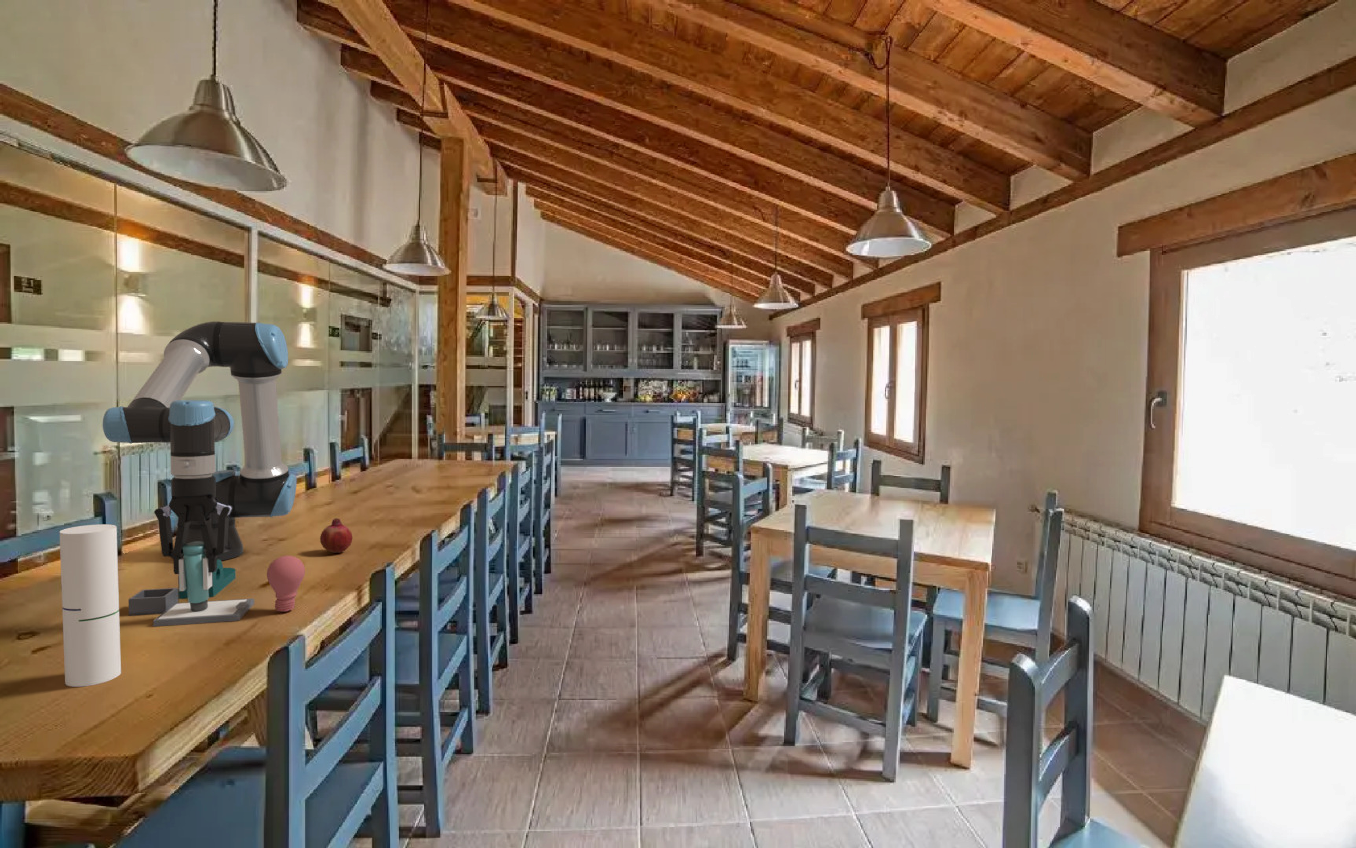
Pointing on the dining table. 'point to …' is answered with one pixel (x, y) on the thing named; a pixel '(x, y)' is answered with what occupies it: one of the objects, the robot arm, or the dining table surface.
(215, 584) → the bracket
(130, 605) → the pen holder
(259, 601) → the dining table surface
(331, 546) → the fruit
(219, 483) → the robot arm
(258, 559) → the dining table surface
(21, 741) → the dining table surface
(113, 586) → the cylindrical container
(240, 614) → the clipboard
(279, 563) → the light bulb
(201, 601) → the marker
